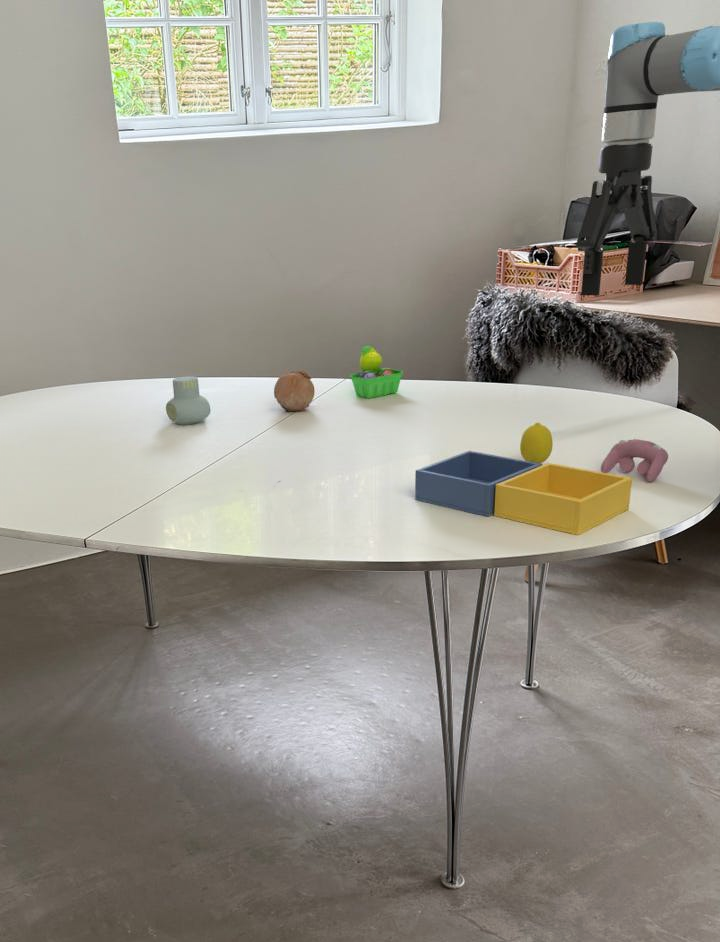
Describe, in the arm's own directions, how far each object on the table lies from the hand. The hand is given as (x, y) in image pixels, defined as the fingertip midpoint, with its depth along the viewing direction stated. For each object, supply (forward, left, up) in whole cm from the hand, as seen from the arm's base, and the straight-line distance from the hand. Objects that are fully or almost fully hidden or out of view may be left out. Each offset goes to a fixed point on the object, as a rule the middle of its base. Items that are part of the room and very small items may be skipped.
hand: (612, 290), depth 155 cm
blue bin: (+7, +25, -30) cm, 40 cm away
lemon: (+9, +5, -30) cm, 32 cm away
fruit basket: (+75, -27, -30) cm, 85 cm away
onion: (+80, -4, -30) cm, 85 cm away
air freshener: (+93, +18, -30) cm, 99 cm away
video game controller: (-7, 0, -30) cm, 31 cm away
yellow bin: (-8, +24, -30) cm, 39 cm away
